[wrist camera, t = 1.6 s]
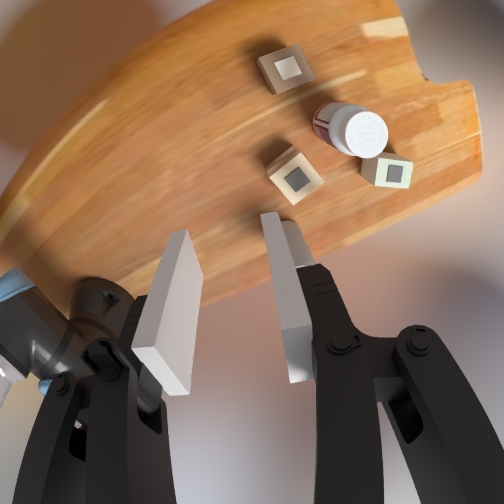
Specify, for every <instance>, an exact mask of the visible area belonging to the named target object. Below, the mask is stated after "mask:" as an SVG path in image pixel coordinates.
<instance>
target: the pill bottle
mask: <svg viewBox="0 0 504 504" xmlns="http://www.w3.org/2000/svg"><path fill="white" fill-rule="evenodd" d="M313 128H314V131H315V133H316V134H317V136H318V137H319V138H320V139H321V140H323V141H324V142H326V143H327V144H329V145H331V146H333V147H334V148H336V149H337V150H339V151H341V152H342V153H345V154H347V155H351V156H359V157H361V158H372V157H375V156H377V155H378V154H380V153H381V152H382V151H383V149H384V148H385V146H386V144H387V140H388V130H387V127H386V124H385V122H384V121H383V119H382V118H381V117H380V116H378V115H377V114H375V113H373V112H370V111H369V110H367V109H366V108H364V107H362V106H359V105H355V104H347V103H339V102H329V103H325V104H323V105H322V106H320V107H319V108H318V109H317V110H316V112H315V114H314V117H313Z"/></svg>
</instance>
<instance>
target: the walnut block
mask: <svg viewBox="0 0 504 504" xmlns="http://www.w3.org/2000/svg"><path fill="white" fill-rule="evenodd" d="M256 65H257V67H258V69H259V70H260V72H261V74H262V76H263V78H264V80H265V82H266V84H267V86H268V88H269V90H270V92H271V94H272V95H273V94H279V93H282V92H284V91H287V90H289V89H292V88H295V87H297V86H300V85H303V84H306V83H308V82H311V81H314V80H316V79H315V76H314V74H313V72H312V70H311V68H310V66H309V64H308V62H307V60H306V58H305V56H304V54H303V52H302V50H301V48H300V46H299V44H295V45H292V46H289V47H286V48H283V49H280V50H277V51H275V52H272V53H269V54H267V55H264V56H261V57H259V58H258V59H257V61H256Z"/></svg>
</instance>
